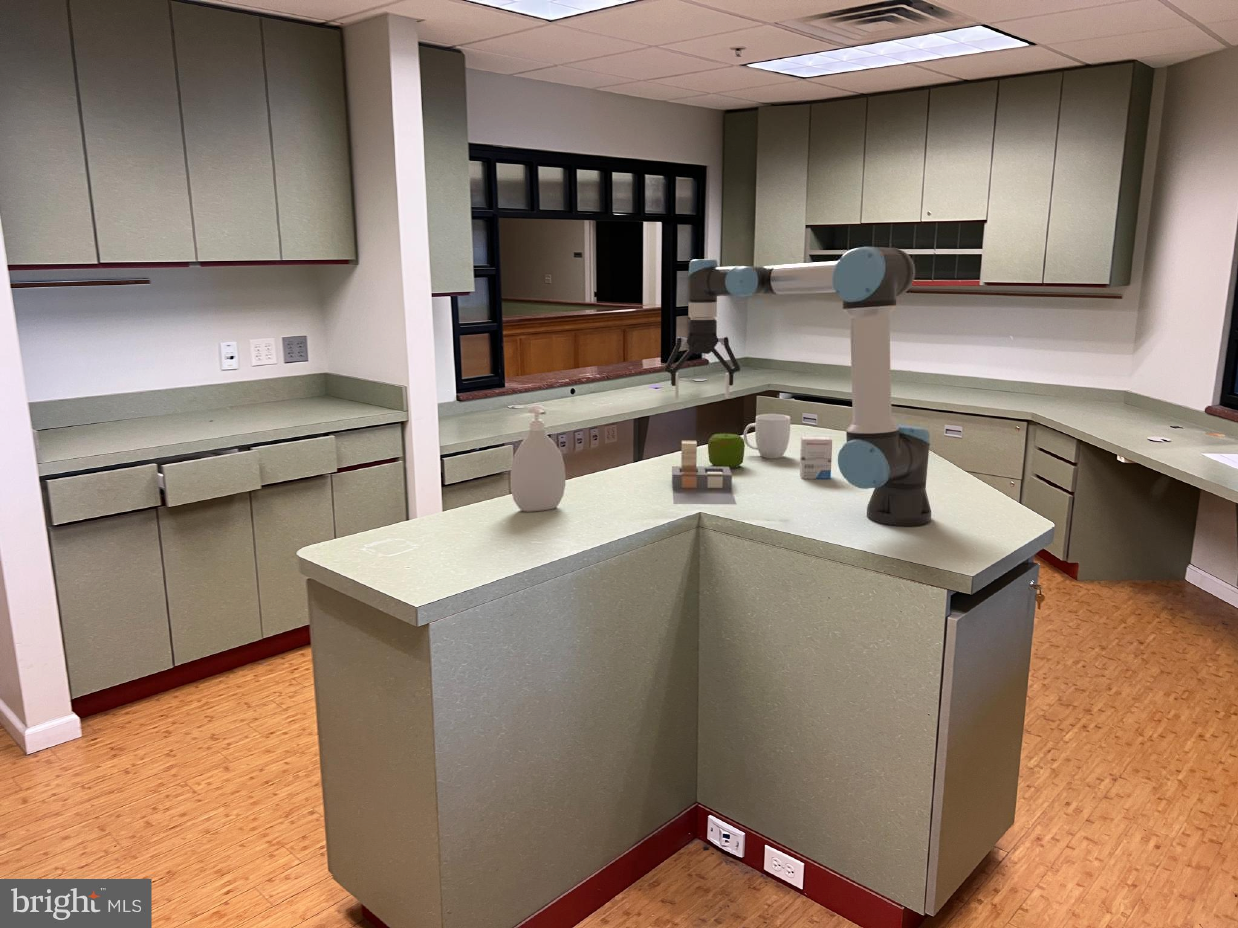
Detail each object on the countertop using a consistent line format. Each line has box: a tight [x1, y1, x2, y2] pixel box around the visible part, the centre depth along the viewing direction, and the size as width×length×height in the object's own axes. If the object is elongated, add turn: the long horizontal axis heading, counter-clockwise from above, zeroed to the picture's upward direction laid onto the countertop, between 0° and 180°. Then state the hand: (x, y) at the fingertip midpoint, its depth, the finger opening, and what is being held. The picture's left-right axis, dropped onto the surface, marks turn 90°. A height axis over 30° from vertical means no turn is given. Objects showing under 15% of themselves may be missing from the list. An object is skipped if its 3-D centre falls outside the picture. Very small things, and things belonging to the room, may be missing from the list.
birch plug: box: [680, 440, 698, 472], centre depth 243 cm, size 4×4×12 cm
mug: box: [743, 413, 791, 460], centre depth 284 cm, size 15×11×13 cm
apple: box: [707, 432, 746, 470], centre depth 270 cm, size 11×11×11 cm
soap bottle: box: [509, 404, 566, 513], centre depth 220 cm, size 14×8×27 cm, turn 114°
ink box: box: [799, 436, 833, 480], centre depth 256 cm, size 9×5×12 cm, turn 84°
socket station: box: [671, 465, 737, 505], centre depth 237 cm, size 26×16×6 cm, turn 178°
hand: (701, 398), depth 238 cm, fingers open, 13 cm apart
